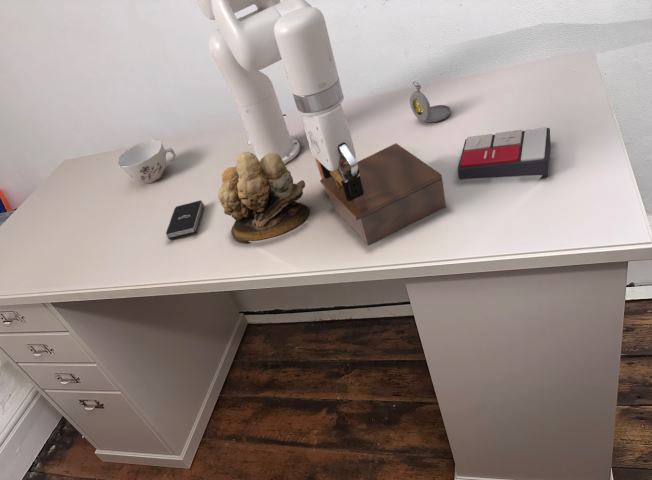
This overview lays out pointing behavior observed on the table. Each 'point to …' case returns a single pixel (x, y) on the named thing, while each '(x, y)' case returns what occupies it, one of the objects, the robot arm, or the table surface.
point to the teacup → (146, 161)
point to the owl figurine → (261, 198)
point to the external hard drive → (185, 220)
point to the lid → (383, 180)
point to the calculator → (506, 154)
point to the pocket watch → (427, 107)
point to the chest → (395, 213)
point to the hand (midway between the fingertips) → (343, 185)
